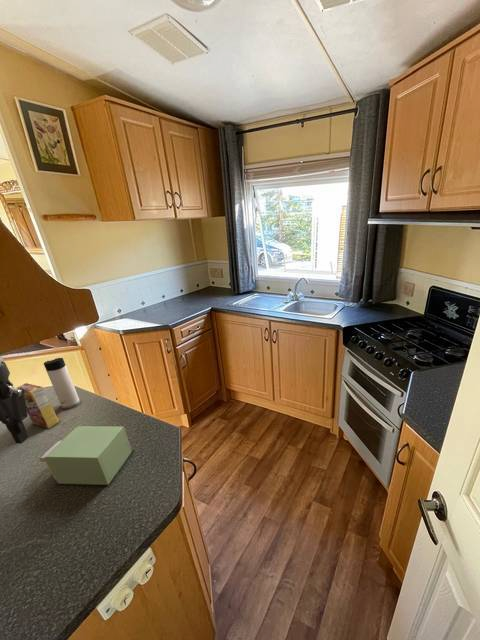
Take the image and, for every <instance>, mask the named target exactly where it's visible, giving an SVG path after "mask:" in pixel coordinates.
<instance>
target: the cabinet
mask: <svg viewBox="0 0 480 640" xmlns="http://www.w3.org/2000/svg"><path fill="white" fill-rule="evenodd" d="M68 434H69V435H68ZM68 434H67V435H68V436H67V435H66V436H65V437H64V438H63V439H62V440H60V441H61V442H60V443H59V444H58V445H57V446H56V447H55V448H54V449H53V450H51V451H50V452H49V453H48V454H47V455H46V456H45V459H46V460H47V462H48V464H49V466H50V468H51V470H52V472H53V474H54V476H55V478H56V479H55V480H56V483H57V484H58V485H59V484H63V485H95V486H96V485H97V486H100V485H101V486H102V485H103V486H109V485H110V483H111V482H112V480H113V479H114V478H115V476H116V475H117V474H118V472H119V471H120V470H121V468H122V466H123V465H124V464H125V462H126V461H127V459H128V458H129V456H130V455H131V454H132V453H133V450H132V448H131V447H132V446H131V445H130V442H129V438H128V435H127V432H126V430H125V426H118V425H117V426H111V425H110V426H106V425H105V426H104V425H103V426H99V425H95V426H94V425H92V426H91V425H89V426H87V425H85V426H84V425H76V427H75V428H73V429H72V430H71V431H70V432H69V433H68Z"/></svg>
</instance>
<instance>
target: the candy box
mask: <svg viewBox="0 0 480 640" xmlns="http://www.w3.org/2000/svg"><path fill="white" fill-rule="evenodd" d="M16 388H17V389H20V388H24V390H25V391H24V400H25V405H26V410H27V415H28V417H29V419H30V421H31V423H32V424H33V425H37V426H40V427H43V428H47V429H50V428H52V427H54V426H56V425H57V424H58V423H59V422H60V421H59V418H58V416H57V414H56V412H55V409H54V407H53V406H52V403H51V402H50V399H49V397H48V395H47V393H46V391H45V387H44V386H41V385H36V384H31V383H28V382H25V383H23V384H21V385H19V386H17V387H16Z"/></svg>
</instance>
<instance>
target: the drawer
mask: <svg viewBox="0 0 480 640" xmlns="http://www.w3.org/2000/svg"><path fill="white" fill-rule="evenodd" d="M69 434H70V433H68V434H67V435H66V436H68V435H69ZM61 441H62V440H58V441H56V442H55V443H54V444H53V445H52V446H51V447H50V448H49V449H48V450H47V451H45V452H44V453H43V454H42V455H41V456H40V457H39V459H38V460H39V461H40V462H43V463H44V462H45V463H46V465H47V468H48V470H49V471H50V473H51V475H52V477H53V479H54V480H56V478H55V476H54V474H53V472H52V470H51V468H50V466H49V464H48V462H47V460H46V459H45V456H46V455H47V454H48V453H49V452H50V451H51V450H53V449H54V448H55V447H56V446H57V445H58V444H59V443H60V442H61Z"/></svg>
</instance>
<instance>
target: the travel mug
mask: <svg viewBox="0 0 480 640" xmlns="http://www.w3.org/2000/svg"><path fill="white" fill-rule="evenodd" d="M43 367H44V369H45V371H46V373H47V376H48V378H49V381H50V382H51V385H52V387H53V389H54V392H55V395H56V396H57V400H58V402H59V404H60V406H61V408H62V409H72V408H74V407H77V406H78V405H79V404H80V403H81V400H80V397H79V395H78V393H77V390H76V387H75V385H74V382H73V380H72V377H71V375H70V372H69V369H68V367H67V364H66V363H65V360H64V358H63V357H56V358H54V359H51V360H46V361H44V362H43Z"/></svg>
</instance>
